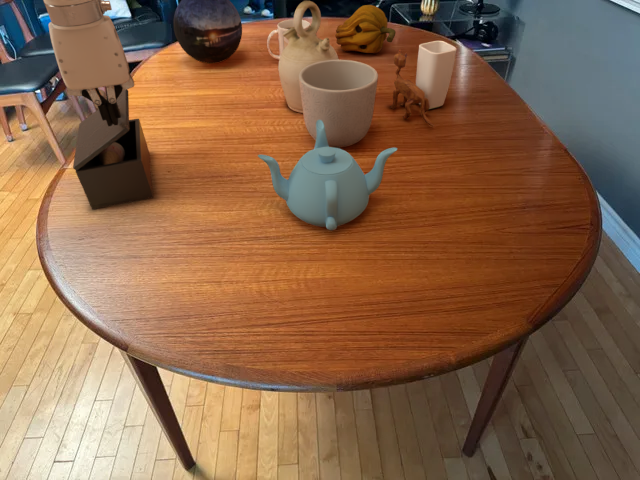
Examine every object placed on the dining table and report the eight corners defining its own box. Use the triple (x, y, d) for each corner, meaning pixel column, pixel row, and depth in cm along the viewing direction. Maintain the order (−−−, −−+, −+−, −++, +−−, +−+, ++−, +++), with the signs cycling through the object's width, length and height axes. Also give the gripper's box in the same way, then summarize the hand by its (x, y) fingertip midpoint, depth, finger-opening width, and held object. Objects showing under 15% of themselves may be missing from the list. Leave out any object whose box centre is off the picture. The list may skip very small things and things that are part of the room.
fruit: (353, 45, 160) (409, 33, 150) (337, 68, 151) (396, 57, 141) (340, 4, 151) (399, -11, 142) (323, 26, 142) (385, 11, 132)
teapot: (317, 169, 100) (316, 116, 92) (392, 199, 91) (398, 144, 83) (263, 209, 90) (256, 154, 82) (342, 248, 81) (343, 190, 73)
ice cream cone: (123, 176, 89) (130, 153, 102) (106, 156, 86) (116, 135, 99) (102, 189, 89) (112, 164, 102) (85, 169, 86) (97, 146, 99)
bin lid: (128, 90, 96) (107, 69, 92) (129, 130, 83) (105, 108, 79) (82, 126, 97) (60, 107, 94) (76, 170, 85) (50, 150, 81)
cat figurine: (444, 128, 112) (454, 72, 103) (422, 134, 110) (430, 78, 101) (401, 99, 124) (407, 46, 115) (380, 104, 122) (384, 51, 113)
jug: (271, 99, 125) (262, -2, 108) (321, 86, 131) (319, -12, 114) (298, 123, 115) (292, 15, 98) (350, 108, 121) (353, 3, 104)
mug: (301, 70, 139) (299, 32, 132) (266, 64, 143) (263, 27, 136) (316, 58, 146) (315, 21, 139) (283, 53, 150) (280, 16, 143)
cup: (449, 107, 120) (459, 49, 110) (425, 113, 118) (434, 54, 108) (432, 96, 125) (440, 39, 115) (409, 102, 123) (416, 44, 113)
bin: (149, 153, 106) (138, 118, 100) (153, 197, 93) (141, 160, 87) (95, 163, 103) (81, 127, 97) (92, 209, 91) (75, 171, 85)
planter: (383, 151, 105) (388, 86, 94) (309, 161, 102) (306, 95, 92) (362, 117, 117) (365, 56, 107) (296, 124, 115) (292, 63, 104)
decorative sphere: (259, 58, 148) (251, -12, 134) (211, 79, 136) (198, 5, 123) (216, 45, 157) (205, -22, 144) (168, 63, 145) (151, -7, 132)
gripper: (126, 0, 75) (155, 107, 87) (26, 10, 72) (70, 119, 84) (127, 14, 70) (157, 125, 82) (18, 25, 67) (66, 139, 79)
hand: (113, 122), depth 83 cm, fingers closed
